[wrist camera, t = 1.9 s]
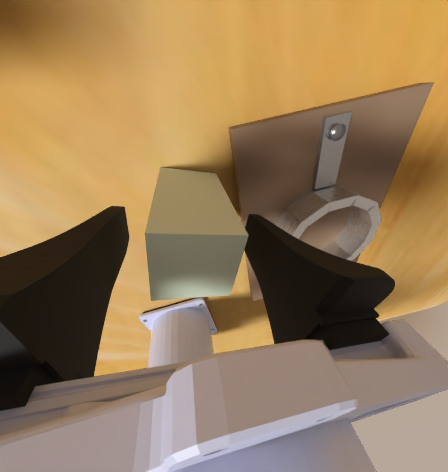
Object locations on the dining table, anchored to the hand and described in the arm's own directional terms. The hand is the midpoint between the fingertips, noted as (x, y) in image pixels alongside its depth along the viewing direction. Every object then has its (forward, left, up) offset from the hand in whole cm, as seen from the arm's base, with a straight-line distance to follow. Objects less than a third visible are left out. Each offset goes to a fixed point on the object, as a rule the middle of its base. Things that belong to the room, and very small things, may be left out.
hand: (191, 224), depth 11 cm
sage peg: (0, 0, -4) cm, 4 cm away
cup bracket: (-6, -11, -4) cm, 13 cm away
